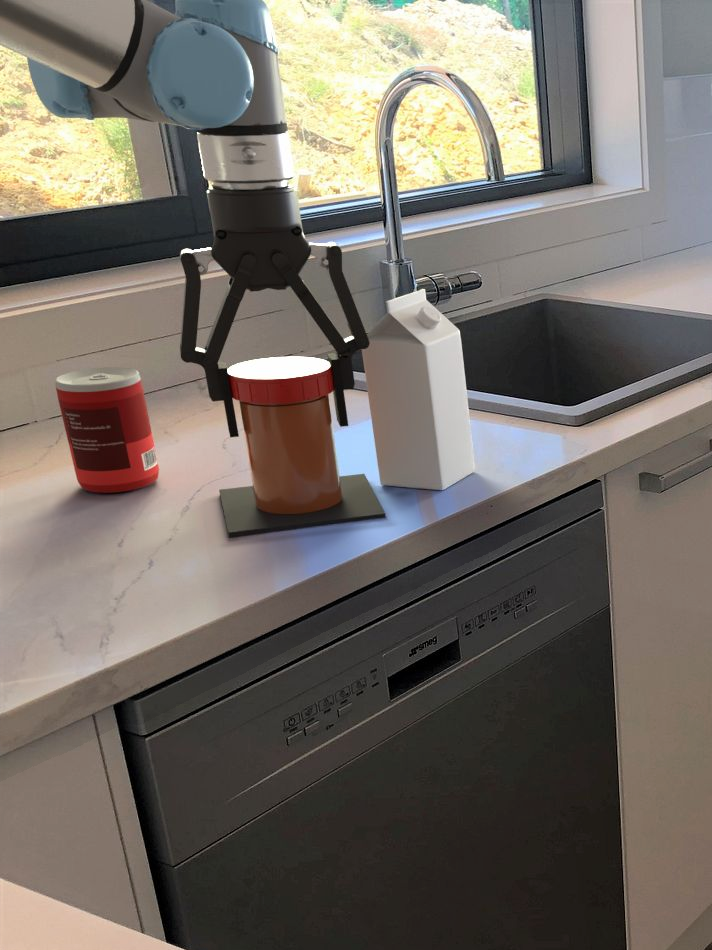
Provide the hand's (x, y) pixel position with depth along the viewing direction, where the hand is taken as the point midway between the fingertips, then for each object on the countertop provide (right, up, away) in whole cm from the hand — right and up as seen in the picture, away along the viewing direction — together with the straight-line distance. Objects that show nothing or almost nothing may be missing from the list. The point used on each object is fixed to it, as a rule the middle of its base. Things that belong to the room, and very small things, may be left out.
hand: (288, 427), depth 134 cm
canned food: (-21, -4, +9) cm, 23 cm away
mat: (0, -7, +3) cm, 8 cm away
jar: (0, -7, +3) cm, 7 cm away
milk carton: (+10, -4, +12) cm, 16 cm away
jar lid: (0, +5, -2) cm, 5 cm away
